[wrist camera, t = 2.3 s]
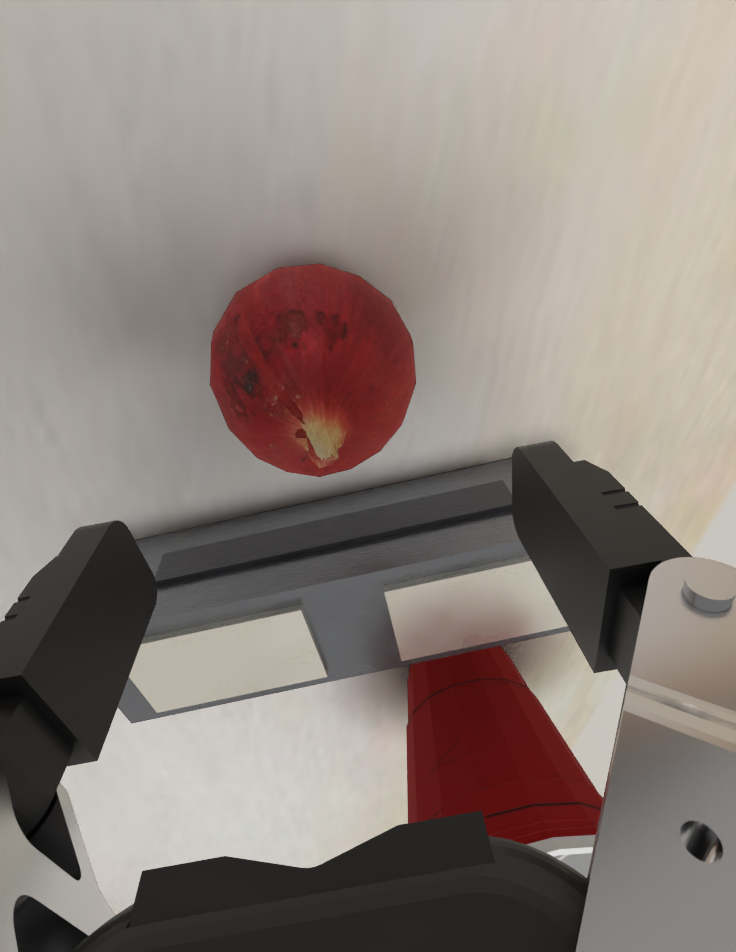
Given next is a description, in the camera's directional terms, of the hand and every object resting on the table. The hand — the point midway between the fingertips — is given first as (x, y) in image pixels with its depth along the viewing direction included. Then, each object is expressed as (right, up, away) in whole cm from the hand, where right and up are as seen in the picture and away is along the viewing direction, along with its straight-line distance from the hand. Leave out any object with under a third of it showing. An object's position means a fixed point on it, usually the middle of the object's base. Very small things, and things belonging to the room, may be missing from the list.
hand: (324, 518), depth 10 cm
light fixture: (0, -2, +12) cm, 13 cm away
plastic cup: (+6, -10, +18) cm, 22 cm away
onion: (-1, +6, +7) cm, 9 cm away
